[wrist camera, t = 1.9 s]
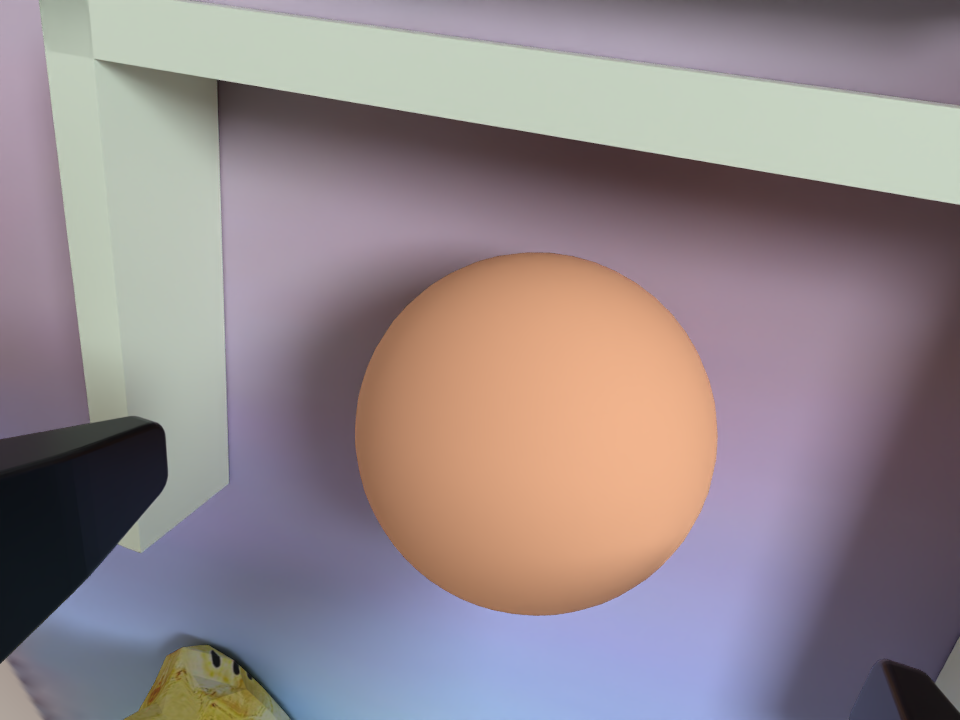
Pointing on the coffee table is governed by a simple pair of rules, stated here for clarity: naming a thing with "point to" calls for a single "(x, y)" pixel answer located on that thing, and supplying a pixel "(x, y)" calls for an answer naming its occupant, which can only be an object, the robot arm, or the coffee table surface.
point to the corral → (384, 83)
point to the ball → (536, 434)
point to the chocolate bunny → (206, 690)
